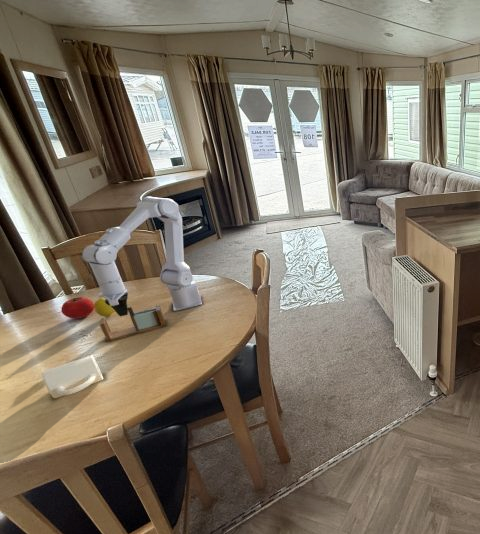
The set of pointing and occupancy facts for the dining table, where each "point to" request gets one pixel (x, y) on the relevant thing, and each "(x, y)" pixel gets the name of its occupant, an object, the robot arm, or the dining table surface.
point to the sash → (144, 319)
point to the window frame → (132, 331)
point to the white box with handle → (72, 376)
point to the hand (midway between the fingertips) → (123, 314)
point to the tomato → (77, 307)
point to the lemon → (103, 308)
